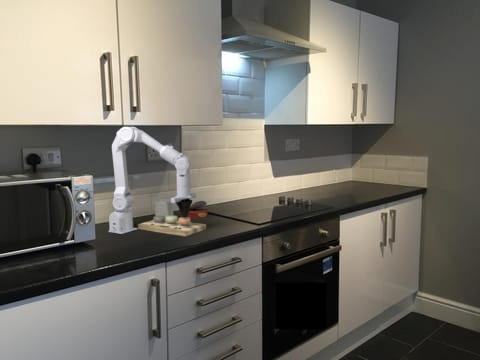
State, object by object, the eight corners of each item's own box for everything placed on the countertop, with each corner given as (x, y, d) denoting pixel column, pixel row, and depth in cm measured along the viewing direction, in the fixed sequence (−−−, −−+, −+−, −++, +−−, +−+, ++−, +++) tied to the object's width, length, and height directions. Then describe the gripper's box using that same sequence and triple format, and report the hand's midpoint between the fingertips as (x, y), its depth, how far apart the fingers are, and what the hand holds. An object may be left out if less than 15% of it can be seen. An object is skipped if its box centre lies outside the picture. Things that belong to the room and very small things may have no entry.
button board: (185, 236, 170) (185, 230, 170) (138, 228, 183) (137, 223, 183) (205, 229, 182) (205, 223, 182) (159, 222, 195) (159, 217, 195)
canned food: (191, 227, 205) (181, 210, 203) (194, 220, 215) (184, 204, 213) (211, 217, 203) (201, 199, 201) (213, 210, 213) (203, 193, 211)
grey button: (159, 223, 182) (159, 218, 182) (151, 222, 185) (151, 217, 185) (167, 221, 187) (167, 216, 186) (158, 219, 189) (158, 215, 189)
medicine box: (173, 217, 205) (173, 200, 204) (167, 219, 201) (167, 201, 200) (161, 216, 209) (160, 198, 208) (155, 217, 205) (154, 200, 204)
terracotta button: (185, 224, 175) (185, 220, 175) (176, 223, 178) (176, 218, 177) (192, 222, 179) (192, 217, 179) (183, 221, 182) (183, 216, 182)
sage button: (172, 223, 179) (172, 218, 178) (163, 221, 181) (163, 217, 181) (179, 220, 183) (179, 216, 183) (170, 219, 186) (170, 215, 185)
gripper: (180, 188, 168) (181, 221, 170) (201, 183, 181) (202, 214, 182) (166, 186, 172) (167, 219, 174) (188, 182, 184) (189, 213, 186)
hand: (184, 217), depth 178 cm, fingers closed
